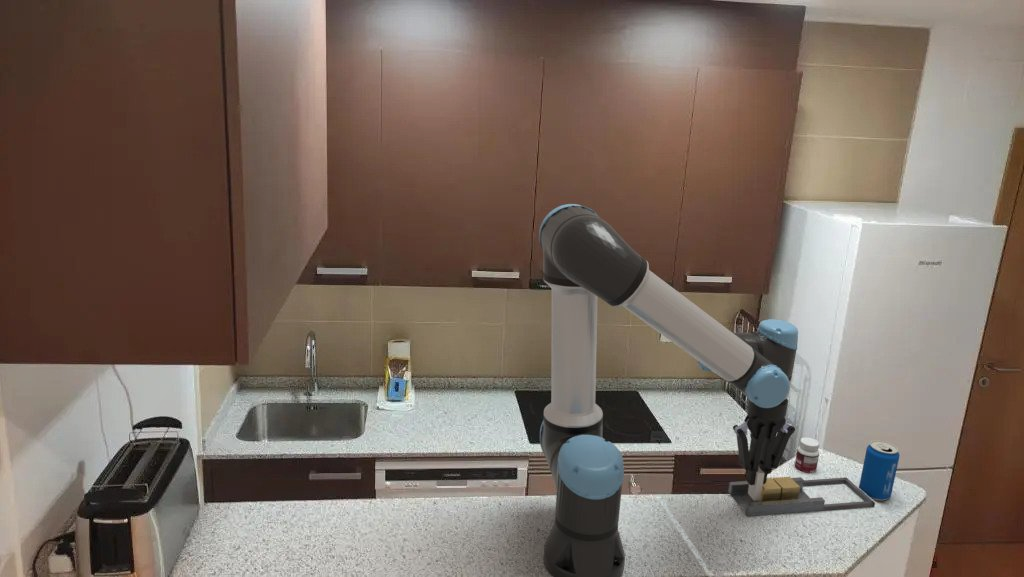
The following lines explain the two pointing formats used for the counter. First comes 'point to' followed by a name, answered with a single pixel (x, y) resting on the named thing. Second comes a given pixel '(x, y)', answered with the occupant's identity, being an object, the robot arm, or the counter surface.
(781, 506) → the slot rail
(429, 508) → the counter surface
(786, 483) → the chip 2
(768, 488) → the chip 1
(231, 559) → the counter surface
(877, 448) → the beverage can
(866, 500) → the tray
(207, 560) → the counter surface
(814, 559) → the counter surface
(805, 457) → the pill bottle
